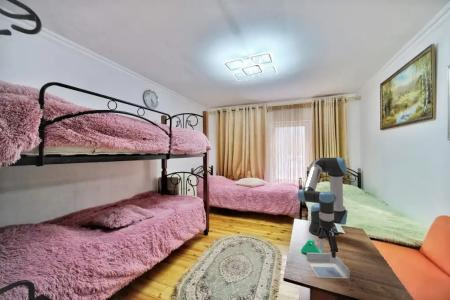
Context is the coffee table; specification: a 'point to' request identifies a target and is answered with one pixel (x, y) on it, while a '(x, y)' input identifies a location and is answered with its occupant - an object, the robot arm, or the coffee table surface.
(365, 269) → the coffee table surface
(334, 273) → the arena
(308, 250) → the camera mount
